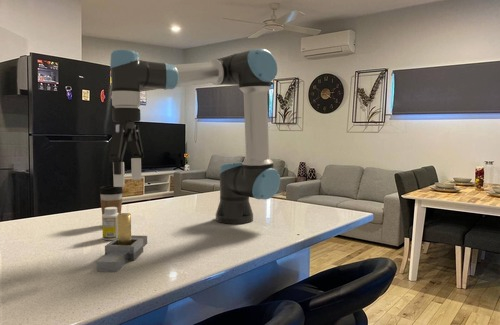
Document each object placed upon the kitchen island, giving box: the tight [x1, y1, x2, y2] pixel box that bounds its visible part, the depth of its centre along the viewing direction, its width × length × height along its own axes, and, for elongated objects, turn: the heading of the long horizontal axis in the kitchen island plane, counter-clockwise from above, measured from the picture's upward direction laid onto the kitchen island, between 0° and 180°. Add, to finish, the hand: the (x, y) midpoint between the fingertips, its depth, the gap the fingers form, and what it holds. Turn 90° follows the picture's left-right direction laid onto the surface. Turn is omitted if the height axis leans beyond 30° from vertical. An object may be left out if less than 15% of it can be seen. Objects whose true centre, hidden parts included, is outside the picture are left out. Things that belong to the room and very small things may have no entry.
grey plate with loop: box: [96, 234, 148, 273], centre depth 108 cm, size 24×8×4 cm, turn 177°
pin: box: [117, 212, 132, 245], centre depth 108 cm, size 4×4×12 cm
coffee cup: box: [98, 185, 124, 215], centre depth 143 cm, size 8×8×15 cm
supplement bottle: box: [101, 207, 119, 241], centre depth 126 cm, size 6×6×10 cm
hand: (128, 183), depth 108 cm, fingers open, 13 cm apart
